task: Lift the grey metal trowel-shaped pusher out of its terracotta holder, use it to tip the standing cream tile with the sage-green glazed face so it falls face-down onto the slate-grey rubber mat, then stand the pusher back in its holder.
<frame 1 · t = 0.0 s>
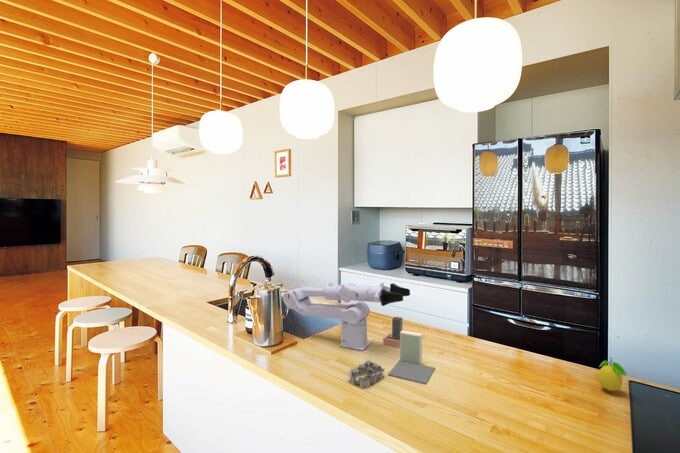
hand: (406, 294, 123), 22 cm above the worktop, tool horizontal, fingers open, 7 cm apart
glazed tile: (410, 361, 120), on the worktop
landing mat: (411, 372, 113), on the worktop
lemon: (610, 392, 100), on the worktop
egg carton: (366, 380, 109), on the worktop
trowel pusher: (397, 344, 135), resting in pusher holder
pusher holder: (397, 343, 135), on the worktop
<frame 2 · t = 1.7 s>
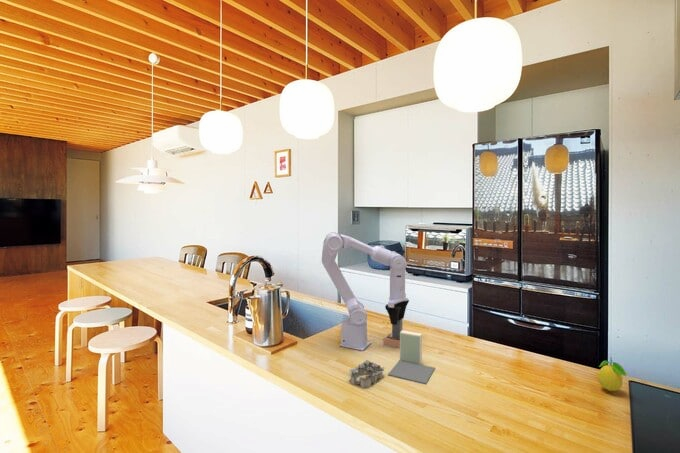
hand: (397, 321, 134), 9 cm above the worktop, tool pointing down, fingers open, 7 cm apart
nothing on the worktop moved.
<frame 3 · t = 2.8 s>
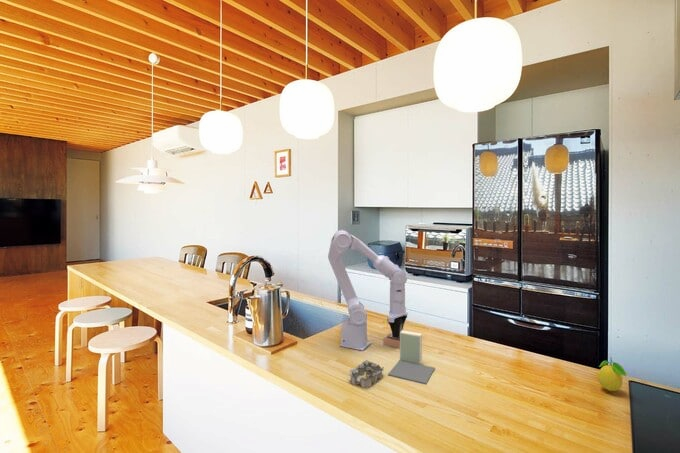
hand: (397, 335, 135), 3 cm above the worktop, tool pointing down, fingers closed on trowel pusher, 3 cm apart
trowel pusher: (397, 344, 135), resting in pusher holder, touching gripper
everything else where it was.
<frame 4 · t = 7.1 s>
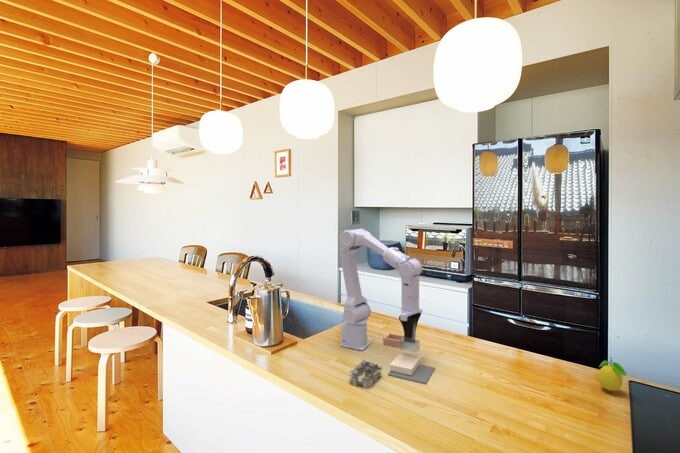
hand: (410, 335, 118), 9 cm above the worktop, tool pointing down, fingers closed on trowel pusher, 3 cm apart
glazed tile: (410, 357, 119), point 2 cm above the worktop, tilted 90°, touching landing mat
trowel pusher: (409, 349, 119), point 5 cm above the worktop, touching gripper
everything else where it was.
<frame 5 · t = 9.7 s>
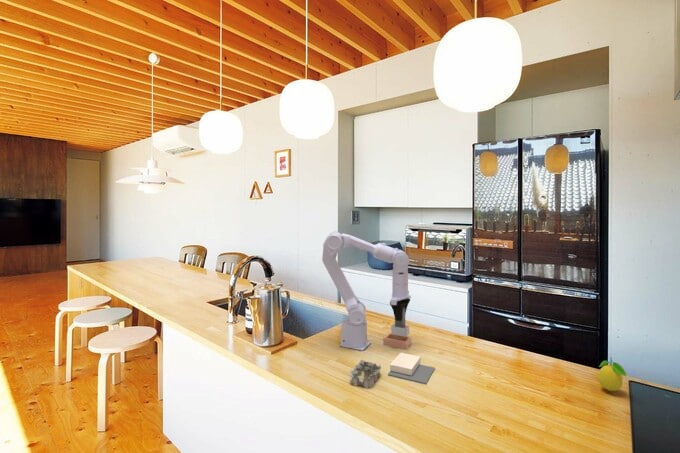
hand: (399, 319, 132), 10 cm above the worktop, tool pointing down, fingers closed on trowel pusher, 3 cm apart
trowel pusher: (400, 333, 133), point 5 cm above the worktop, touching gripper
when the fingers open (4 cm above the worktop, at t = 11.3 s): trowel pusher stays where it is, resting in pusher holder.
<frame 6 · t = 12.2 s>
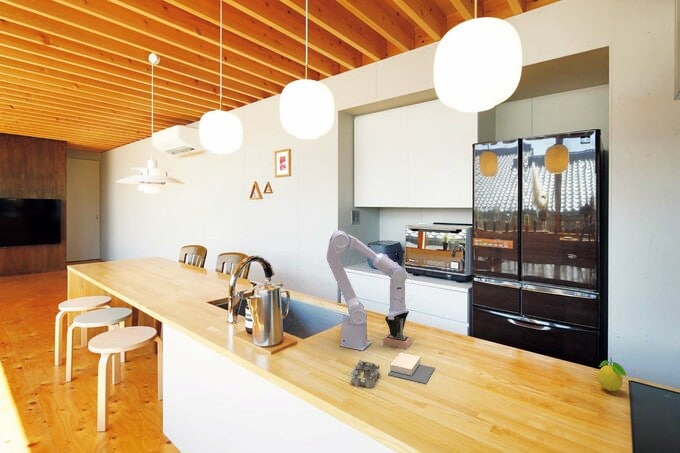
hand: (397, 332, 134), 4 cm above the worktop, tool pointing down, fingers open, 7 cm apart
trowel pusher: (397, 344, 135), resting in pusher holder
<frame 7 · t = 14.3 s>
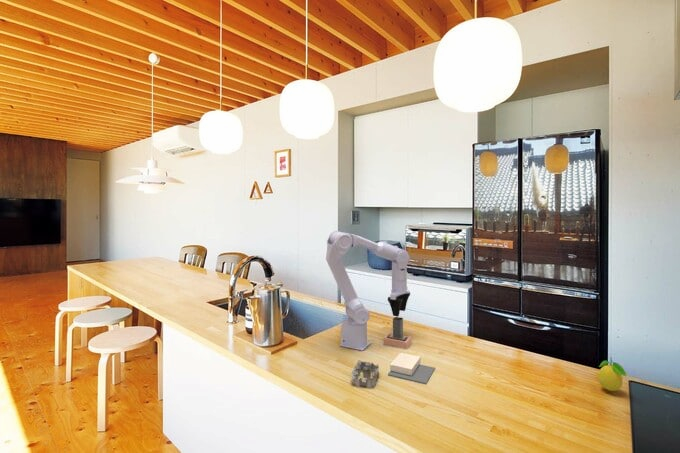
hand: (399, 313, 139), 10 cm above the worktop, tool pointing down, fingers open, 7 cm apart
at the end: glazed tile tilted 90°; glazed tile touching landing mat; trowel pusher 0.2 cm off-centre on the pusher holder, point 0.0 cm above the pusher holder's base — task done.
